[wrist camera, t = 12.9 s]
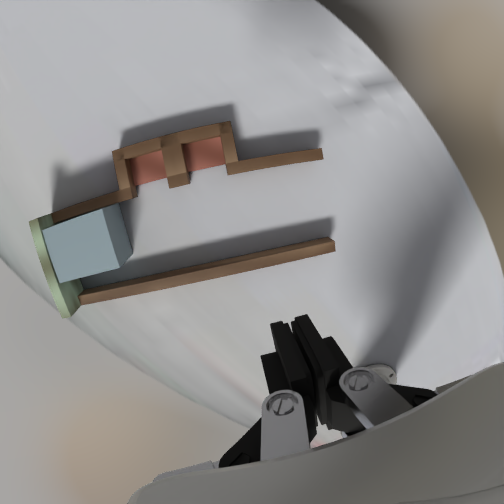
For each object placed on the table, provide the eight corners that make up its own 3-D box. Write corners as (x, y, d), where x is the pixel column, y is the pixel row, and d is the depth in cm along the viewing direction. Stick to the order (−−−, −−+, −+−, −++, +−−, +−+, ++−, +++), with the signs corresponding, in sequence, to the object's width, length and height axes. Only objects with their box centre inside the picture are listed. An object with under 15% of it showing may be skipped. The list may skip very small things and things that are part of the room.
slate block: (133, 253, 30) (119, 267, 26) (77, 268, 30) (59, 283, 25) (118, 202, 28) (102, 208, 24) (63, 221, 28) (42, 230, 23)
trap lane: (329, 246, 33) (346, 259, 28) (78, 300, 31) (62, 318, 26) (308, 113, 28) (324, 104, 23) (43, 180, 26) (20, 184, 21)
